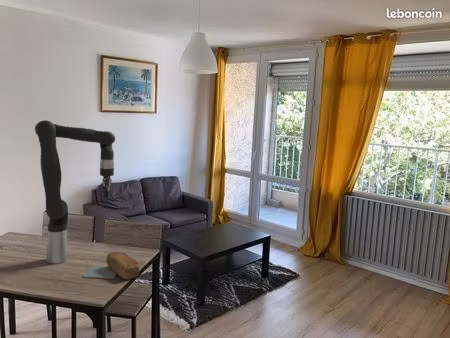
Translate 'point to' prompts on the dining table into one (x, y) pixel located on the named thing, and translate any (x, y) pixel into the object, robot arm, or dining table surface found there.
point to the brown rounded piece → (123, 265)
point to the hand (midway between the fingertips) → (106, 197)
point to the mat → (100, 272)
